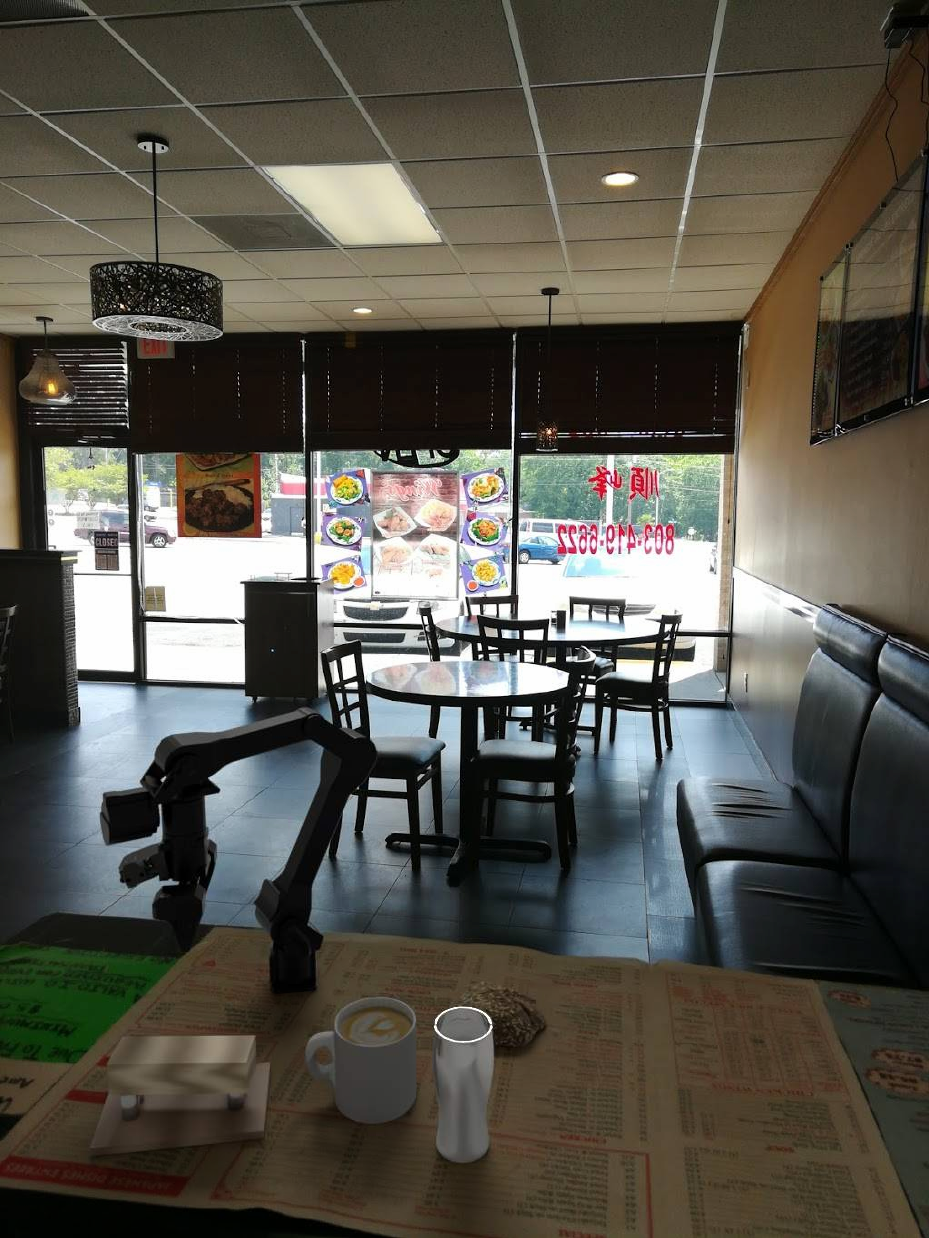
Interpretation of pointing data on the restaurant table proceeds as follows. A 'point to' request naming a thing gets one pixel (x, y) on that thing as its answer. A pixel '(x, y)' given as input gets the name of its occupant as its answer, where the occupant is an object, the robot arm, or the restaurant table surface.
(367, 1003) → the coffee mug
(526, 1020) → the bread roll
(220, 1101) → the peg holder
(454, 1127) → the beer glass
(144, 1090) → the pine board
